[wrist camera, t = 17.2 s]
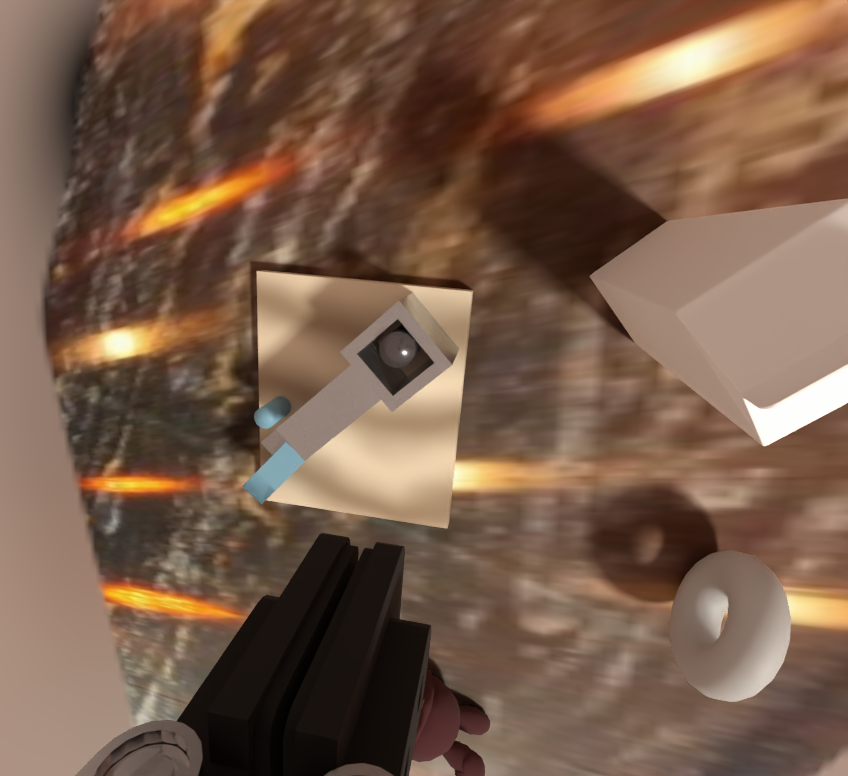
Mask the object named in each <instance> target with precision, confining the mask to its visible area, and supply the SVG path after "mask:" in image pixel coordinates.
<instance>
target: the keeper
mask: <svg viewBox="0 0 848 776" xmlns="http://www.w3.org/2000/svg"><path fill="white" fill-rule="evenodd" d="M290 410H291V404H290V402H289V400H288V399H287V398H285V397H282V396H278V397H276V398H274V399H273V400H271V401H270V402H268V403H267V404H265V405H264V406H262V407H261V408H260V409H258V410H257V411H256V412H255V414H254V420H255V422H256V424H257V425H258V426H259V427H261V428H264V429H267V428H270V427H272V426H273V425H274V424H276V423H277V422H278V421H279V420H281V419H282V418H283V417H284V416H286V415H287V414H288V413H289V412H290ZM305 461H306V460H305ZM305 461H304V460H303V459H302V458H301V457H300V456H299V454H298V453H297V452H296V451H295V450H294V449H293V448H292V447H291V446H290V444H289V443H288V442H287V441H286V442H285V443H284V444H283V445H282V447H281V448H280V449H279V450H278V451H277V452H276V453H275V454H274V455H273V456H272V457H271V458H270V459H269V460H268V461H267V462H266V463H265V464H264V465H263V466H262V467H261V468H260V469H259V470H258V471H257V472H256V473H255V474H254V475H253V476H252V477H251V478H250V479H249V480H248V481H247V482H246V483H245V484H244V485H243V486H242V487H243V488H244V489H245V490H246V491H248V492H249V493H250V494H251V495H252V496H253V497H254V498H255V499H256V500H257V501H258V502H259V503H260V504H262V503H263V502H264V501H265V500H266V499H268V498H269V497H270V496H271V495H272V494H273V493H274V492H275V491H276V490H277V489H278V488H279V487H280V486H281V485H282V484H283V483H284V482H285V481H286V480H287V479H288V478H289V477H290V476H291V475H292V474H293V473H294V472H295V471H296V470H297V469H298V468H299V467H300V466H301V465H302V464H303V463H304V462H305Z"/></svg>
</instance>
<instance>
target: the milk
mask: <svg viewBox="0 0 848 776" xmlns="http://www.w3.org/2000/svg"><path fill="white" fill-rule="evenodd" d="M590 278H591V280H592V281H593V283H594V284H595V286H596V287H597V288H598V290H599V291H600V293H601V294H602V296H603V297H604V299H605V300H606V302H607V303H608V304H609V306H610V307H611V309H612V310H613V312H614V313H615V315H616V316H617V318H618V319H619V320H620V322H621V323H622V325H623V326H624V328H625V329H626V331H627V332H628V334H629V335H630V336H631V338H632V339H633V341H634V342H635V344H636V345H638V346H639V347H640V348H641V349H643V350H644V351H645V352H646V353H648V354H649V355H650V356H651V357H653V358H654V359H655V360H656V361H658V362H659V363H660V364H661V365H663V366H664V367H665V368H666V369H668V370H669V371H670V372H671V373H673V374H674V375H675V376H676V377H678V378H679V379H680V380H681V381H683V382H684V383H685V384H686V385H688V386H689V387H690V388H691V389H693V390H694V391H695V392H696V393H698V394H699V395H700V396H701V397H703V398H704V399H705V400H706V401H708V402H709V403H710V404H711V405H713V406H714V407H715V408H716V409H718V410H719V411H720V412H721V413H723V414H724V415H725V416H726V417H728V418H729V419H730V420H731V421H733V422H734V423H735V424H736V425H738V426H739V427H740V428H741V429H742V430H744V431H745V432H746V433H747V434H749V435H750V436H751V437H752V438H754V439H755V440H756V441H757V442H759V443H760V444H761V445H763V446H767V445H769V444H771V443H773V442H774V441H776V440H778V439H780V438H782V437H784V436H786V435H788V434H790V433H792V432H793V431H795V430H797V429H799V428H801V427H803V426H805V425H807V424H809V423H810V422H812V421H814V420H816V419H818V418H820V417H822V416H824V415H826V414H827V413H829V412H831V411H833V410H835V409H837V408H839V407H841V406H843V405H844V404H846V403H848V199H840V200H832V201H824V202H816V203H808V204H800V205H792V206H783V207H775V208H767V209H759V210H751V211H743V212H735V213H727V214H719V215H711V216H703V217H695V218H687V219H679V220H670V221H667V222H665V223H664V224H662V225H661V226H659V227H658V228H656V229H655V230H654V231H652V232H651V233H649V234H648V235H646V236H645V237H644V238H642V239H641V240H639V241H638V242H637V243H635V244H634V245H632V246H631V247H629V248H628V249H627V250H625V251H624V252H622V253H621V254H619V255H618V256H617V257H615V258H614V259H612V260H611V261H609V262H608V263H607V264H605V265H604V266H602V267H601V268H600V269H598V270H597V271H595V272H594V273H592V274H591V275H590Z"/></svg>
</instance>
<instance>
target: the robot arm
mask: <svg viewBox="0 0 848 776" xmlns="http://www.w3.org/2000/svg"><path fill="white" fill-rule="evenodd" d="M404 556H405V548H404V546H398V545H392V544H386V543H380V542H377V543H376V544H375V546H374V548H373V549H369V548H365V549H364V550H363V552H362V554H361V557H360V559H359V561H358V547H357V546H351V545H350V539H349V538H348V537H343V536H337V535H331V534H325V533H321V534H320V535H319V536H318V538H317V539H316V541H315V542H314V544H313V546H312V547H311V549H310V550H309V552H308V553H307V555H306V557H305V558H304V560H303V561H302V563H301V564H300V566H299V568H298V569H297V571H296V572H295V574H294V575H293V577H292V579H291V580H290V582H289V583H288V585H287V586H286V588H285V590H284V591H283V593H282V594H281V596H280V597H274V596H269V595H266V596H264V597H262V599H261V600H260V601H259V602H258V603H257V605H256V606H255V608H254V609H253V611H252V612H251V613H250V615H249V616H248V618H247V619H246V621H245V622H244V624H243V625H242V627H241V628H240V630H239V631H238V632H237V634H236V635H235V637H234V638H233V640H232V641H231V643H230V644H229V646H228V647H227V649H226V650H225V651H224V653H223V654H222V656H221V657H220V659H219V660H218V662H217V663H216V665H215V666H214V668H213V669H212V670H211V672H210V673H209V675H208V676H207V678H206V679H205V681H204V682H203V684H202V685H201V687H200V688H199V689H198V691H197V692H196V694H195V695H194V697H193V698H192V700H191V701H190V703H189V704H188V706H187V707H186V708H185V710H184V711H183V713H182V714H181V716H180V717H179V719H178V720H177V722H176V721H171V720H161V721H151V722H148V723H145V724H142V725H139V726H136V727H133V728H131V729H129V730H128V731H126V732H124V733H122V734H121V735H119V736H117V737H116V738H114V739H113V740H112V741H110V742H109V743H108V744H107V745H106V746H105V747H103V748H102V749H101V750H100V751H99V752H98V753H97V754H96V755H95V756H94V757H93V758H92V759H91V760H90V761H89V762H88V763H87V764H86V765H85V766H84V767H83V768H82V769H81V770H80V771H79V772H78V773H77V774H76V775H75V776H409V771H410V766H411V760H412V755H413V749H414V744H415V739H416V733H417V728H418V722H419V717H420V711H421V706H422V700H423V694H424V687H425V681H426V673H427V666H428V657H429V647H430V638H431V625H427V624H422V623H416V622H411V621H405V620H400V608H401V595H402V582H403V569H404Z"/></svg>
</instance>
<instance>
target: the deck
mask: <svg viewBox="0 0 848 776" xmlns="http://www.w3.org/2000/svg"><path fill="white" fill-rule="evenodd" d="M412 293H414V294H415V295H416V297H417V298H418V299H419V300H420V301H421V303H422V304H423V305H424V306H425V307H426V309H427V310H428V311H429V312H430V314H431V315H432V316H433V317H434V318H435V320H436V321H437V322H438V323H439V324H440V326H441V327H442V328H443V329H444V331H445V332H446V333H447V334H448V335H449V337H450V338H451V339H452V340H453V341H454V343H455V344H456V345H457V346H458V348H459V351H458V353H457V356H456V358H455V360H454V362H453V365H452V366H450V367H449V368H448V369H447V370H445V371H444V372H443V373H441V374H440V375H439V376H438V377H436V378H435V379H434V380H433V381H431V382H430V383H429V384H427V385H426V386H425V387H424V388H422V389H421V390H420V391H419V392H417V393H416V394H415V395H413V396H412V397H411V398H410V399H408V400H407V401H406V402H404V403H403V404H402V405H401V406H399V407H398V408H397V409H396V410H394V411H393V412H391V411H390V410H389V408H388V407H387V406H386V405H385V404H384V403H383V401H382V400H380V401H379V402H378V403H376V404H375V405H374V406H373V407H371V408H370V409H369V410H368V411H366V412H365V413H364V414H363V415H361V416H360V417H359V418H358V419H356V420H355V421H354V422H353V423H351V424H350V425H349V426H348V427H346V428H345V429H344V430H343V431H341V432H340V433H339V434H338V435H336V436H335V437H334V438H333V439H331V440H330V441H329V442H328V443H326V444H325V445H324V446H323V447H321V448H320V449H319V450H318V451H317V452H315V453H314V454H313V455H312V456H310V457H309V458H308V459H307V460H306V461H305V462H304V463H303V464H302V465H301V466H300V467H299V468H298V469H297V470H296V471H295V472H294V473H293V474H292V475H291V476H290V477H289V478H288V479H287V480H286V481H285V482H284V483H283V484H282V485H281V486H280V487H279V488H278V489H277V490H276V491H275V492H274V493H273V494H272V495H271V496H270V497H269V498H268V499H266V500H269V501H275V502H281V503H288V504H294V505H301V506H307V507H313V508H320V509H326V510H333V511H339V512H345V513H352V514H358V515H364V516H371V517H377V518H384V519H390V520H396V521H403V522H409V523H416V524H422V525H428V526H435V527H441V528H448V523H449V516H450V507H451V497H452V488H453V478H454V469H455V459H456V450H457V440H458V431H459V421H460V412H461V403H462V393H463V384H464V374H465V365H466V355H467V346H468V336H469V327H470V317H471V308H472V298H473V290H468V289H457V288H447V287H436V286H426V285H415V284H404V283H394V282H383V281H373V280H362V279H352V278H341V277H331V276H320V275H310V274H299V273H289V272H278V271H268V270H261V271H257V315H258V368H259V409H260V408H261V407H262V406H264V405H265V404H267V403H268V402H270V401H271V400H273V399H274V398H276V397H278V396H282V397H285V398H287V399H288V400H289V402H290V404H291V410H290V412H289V413H288V414H287V415H286V416H284V417H283V418H282V419H281V420H279V421H278V422H277V423H276V424H274V425H273V426H272V427H270V428H267V429H264V428H261V427H260V468H261V467H262V466H263V465H264V464H265V463H266V462H267V461H268V460H269V459H270V458H271V457H272V456H273V455H272V454H271V453H270V452H269V451H268V450H267V449H266V448H265V447H264V446H263V444H262V443H261V442H262V441H263V440H264V439H265V438H267V437H268V436H269V435H270V434H271V433H272V432H274V431H275V430H276V428H278V427H279V426H280V425H281V424H282V423H283V422H285V421H286V420H287V419H288V418H289V417H290V416H292V415H293V414H294V413H295V412H296V411H298V410H299V409H300V408H301V407H302V406H303V405H305V404H306V403H307V402H308V401H309V400H310V399H312V398H313V397H314V396H315V395H316V394H318V393H319V392H320V391H321V390H322V389H323V388H325V387H326V386H327V385H328V384H329V383H330V382H332V381H333V380H334V379H335V378H336V377H338V376H339V375H340V374H341V373H342V372H343V371H345V370H346V369H347V368H348V367H349V366H350V365H351V364H350V363H349V362H348V361H347V360H346V358H345V357H344V356H343V355H342V354H341V353H340V352H341V351H342V350H343V349H344V348H345V347H346V346H347V345H349V344H350V343H351V342H352V341H353V340H354V339H355V338H357V337H358V336H359V335H360V334H361V333H362V332H364V331H365V330H366V329H367V328H368V327H369V326H370V325H372V324H373V323H374V322H375V321H376V320H377V319H379V318H380V317H381V316H382V315H383V314H384V313H385V312H387V311H388V310H389V309H390V308H391V307H392V306H393V305H395V304H396V303H397V302H398V301H399V300H401V299H403V298H405V297H407V296H408V295H410V294H412ZM401 324H402V323H401V322H400V321H399V320H398V321H397V322H396V323H395V324H394V325H392V326H391V327H390V328H389V329H388V330H387V331H385V332H384V333H383V334H382V335H381V336H379V337H378V338H377V339H376V340H377V341H378V342H379V344H381V342H382V340H383V339H384V338H385V337H386V336H387V335H388V334H390V333H391V332H392V331H394V330H395V329H396V328H397V327H399V326H400V325H401ZM429 359H430V357H429V355H428V354H427V353H426V352H425V351H424V349H423V348H421V349H420V350H419V352H418V353H417V354H416V355H415V357H414V358H413V359H412V360H411V362H410V363H409V364H408V365H406V366H404V367H401V370H402V371H403V372H404V373H405V374H406V376H409V375H410V374H411V373H412V372H414V371H415V370H416V369H417V368H419V367H420V366H421V365H422V364H424V363H425V362H426V361H427V360H429Z"/></svg>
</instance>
